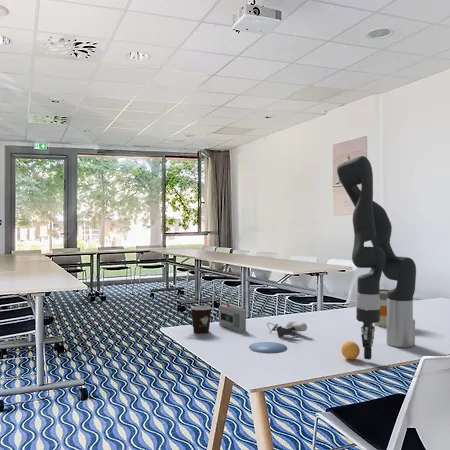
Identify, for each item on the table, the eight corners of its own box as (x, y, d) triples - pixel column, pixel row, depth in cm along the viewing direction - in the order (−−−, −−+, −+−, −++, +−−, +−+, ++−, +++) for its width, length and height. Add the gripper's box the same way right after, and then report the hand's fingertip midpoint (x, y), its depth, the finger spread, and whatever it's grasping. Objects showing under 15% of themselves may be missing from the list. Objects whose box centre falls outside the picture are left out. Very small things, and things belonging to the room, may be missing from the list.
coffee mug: (211, 329, 196) (211, 305, 196) (211, 334, 188) (211, 309, 188) (184, 329, 196) (184, 306, 196) (183, 334, 187) (183, 310, 187)
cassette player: (219, 325, 204) (219, 302, 204) (224, 324, 206) (224, 302, 206) (240, 332, 192) (240, 308, 191) (245, 331, 193) (245, 307, 193)
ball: (352, 355, 158) (353, 338, 158) (363, 360, 153) (363, 343, 153) (337, 357, 157) (337, 339, 157) (347, 362, 151) (347, 344, 151)
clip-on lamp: (262, 339, 192) (290, 338, 177) (259, 324, 193) (287, 322, 178) (283, 332, 199) (311, 331, 184) (279, 318, 199) (308, 316, 185)
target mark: (277, 341, 177) (277, 340, 177) (293, 351, 164) (293, 350, 164) (243, 344, 173) (243, 343, 173) (257, 354, 160) (257, 354, 160)
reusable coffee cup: (405, 326, 202) (405, 292, 201) (382, 329, 197) (382, 294, 197) (385, 320, 213) (385, 288, 213) (363, 322, 209) (363, 290, 208)
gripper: (359, 302, 159) (359, 352, 159) (353, 309, 147) (353, 362, 147) (382, 304, 156) (381, 354, 156) (377, 311, 144) (377, 366, 144)
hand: (367, 358), depth 152 cm, fingers closed
